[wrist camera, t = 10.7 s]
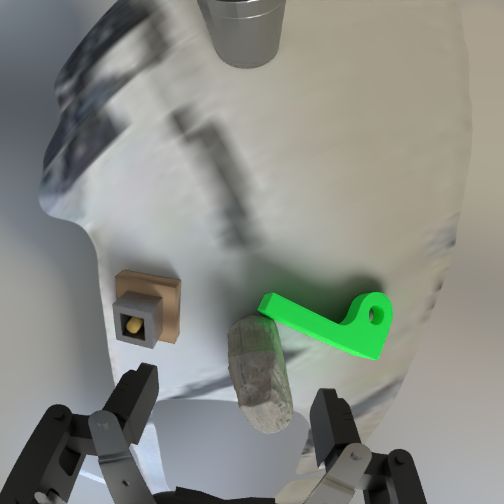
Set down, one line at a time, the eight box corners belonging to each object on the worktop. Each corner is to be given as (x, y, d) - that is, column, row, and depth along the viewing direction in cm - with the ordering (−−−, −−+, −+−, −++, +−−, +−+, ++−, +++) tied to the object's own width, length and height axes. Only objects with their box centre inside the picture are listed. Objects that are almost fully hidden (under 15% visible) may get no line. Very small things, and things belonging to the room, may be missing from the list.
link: (127, 290, 38) (112, 304, 33) (162, 297, 38) (151, 313, 33) (129, 323, 40) (116, 339, 35) (163, 331, 40) (152, 348, 35)
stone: (292, 387, 46) (299, 450, 32) (255, 393, 47) (253, 456, 32) (271, 302, 41) (277, 365, 27) (227, 311, 42) (212, 374, 28)
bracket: (371, 304, 46) (397, 302, 39) (352, 354, 43) (377, 360, 36) (278, 252, 43) (295, 242, 36) (252, 309, 41) (265, 310, 34)
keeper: (123, 269, 41) (99, 289, 33) (181, 280, 41) (164, 303, 33) (126, 322, 43) (106, 346, 36) (179, 334, 43) (165, 362, 36)
